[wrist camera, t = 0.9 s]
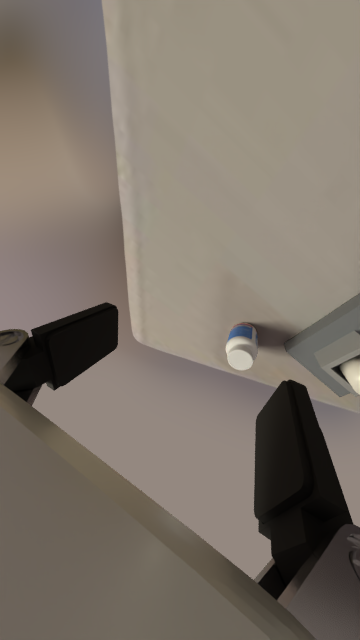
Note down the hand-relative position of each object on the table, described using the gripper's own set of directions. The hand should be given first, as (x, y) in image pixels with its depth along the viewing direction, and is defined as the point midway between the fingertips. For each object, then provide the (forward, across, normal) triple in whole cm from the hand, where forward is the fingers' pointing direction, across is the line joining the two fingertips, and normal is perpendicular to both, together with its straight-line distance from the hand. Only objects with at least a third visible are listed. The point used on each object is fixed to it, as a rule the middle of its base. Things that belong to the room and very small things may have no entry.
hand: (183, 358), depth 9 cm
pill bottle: (+27, -5, +11) cm, 30 cm away
